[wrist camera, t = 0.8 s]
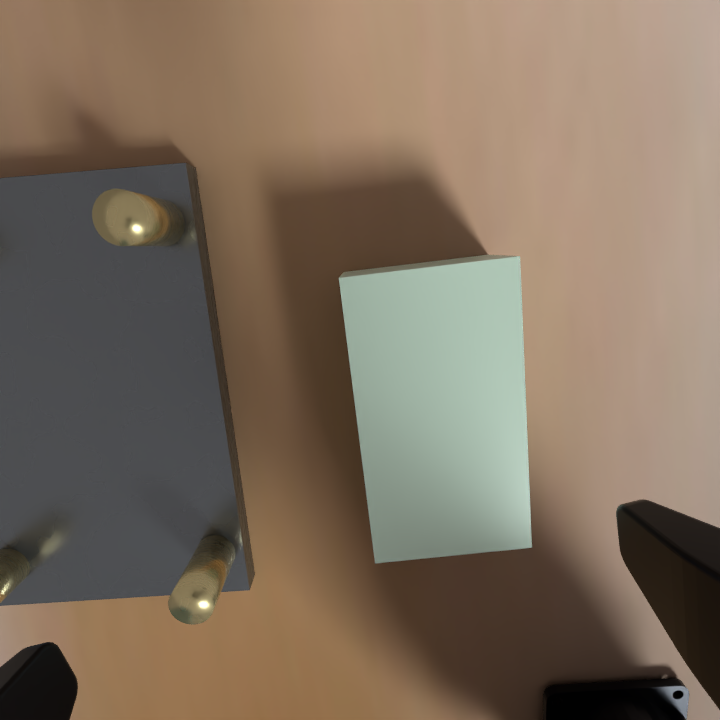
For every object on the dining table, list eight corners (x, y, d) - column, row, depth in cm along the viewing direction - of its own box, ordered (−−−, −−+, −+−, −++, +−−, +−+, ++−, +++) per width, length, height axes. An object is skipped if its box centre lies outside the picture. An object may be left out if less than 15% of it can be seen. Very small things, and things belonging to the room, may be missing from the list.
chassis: (195, 167, 17) (147, 144, 13) (254, 574, 21) (230, 648, 17) (-101, 192, 18) (-233, 176, 14) (11, 589, 21) (-67, 665, 17)
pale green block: (486, 254, 18) (520, 256, 14) (499, 490, 20) (532, 547, 17) (343, 271, 18) (338, 278, 15) (372, 504, 21) (375, 563, 17)
